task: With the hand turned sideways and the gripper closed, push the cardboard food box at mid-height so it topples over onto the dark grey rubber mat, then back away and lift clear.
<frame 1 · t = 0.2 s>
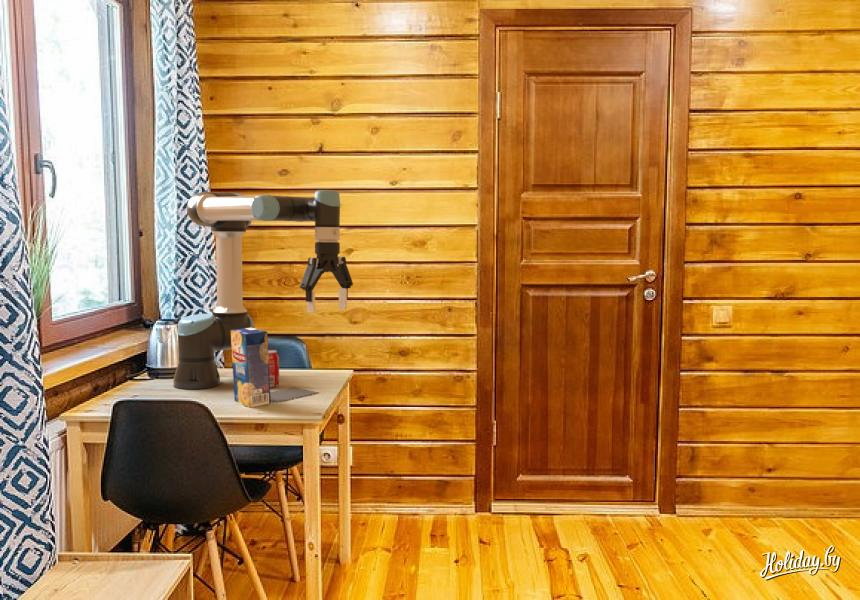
hand: (327, 310, 229), 28 cm above the table, tool pointing down, fingers open, 13 cm apart
soda can: (268, 387, 250), on the table
cardboard food box: (252, 402, 227), on the table, touching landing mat
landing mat: (285, 395, 238), on the table
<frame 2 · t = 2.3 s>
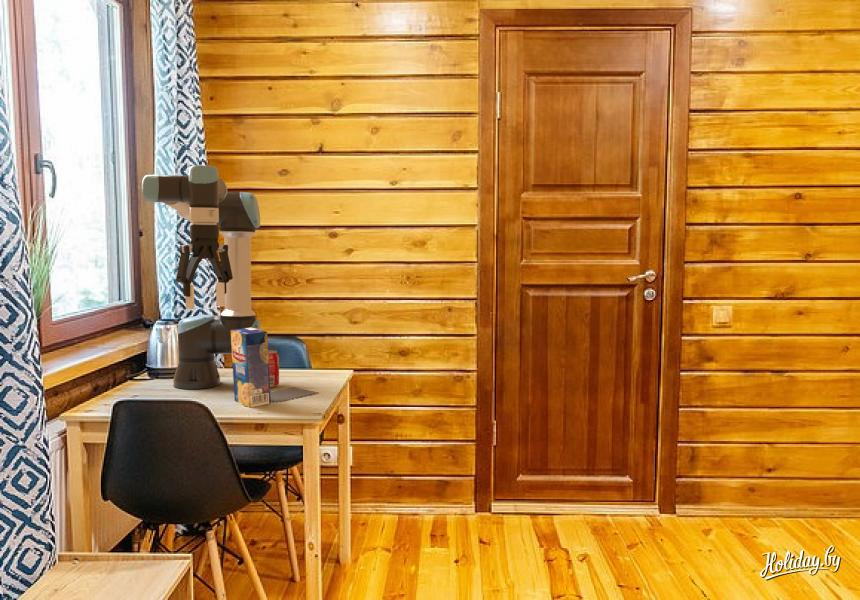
hand: (205, 307, 202), 31 cm above the table, tool pointing down, fingers open, 9 cm apart
nothing on the table moved.
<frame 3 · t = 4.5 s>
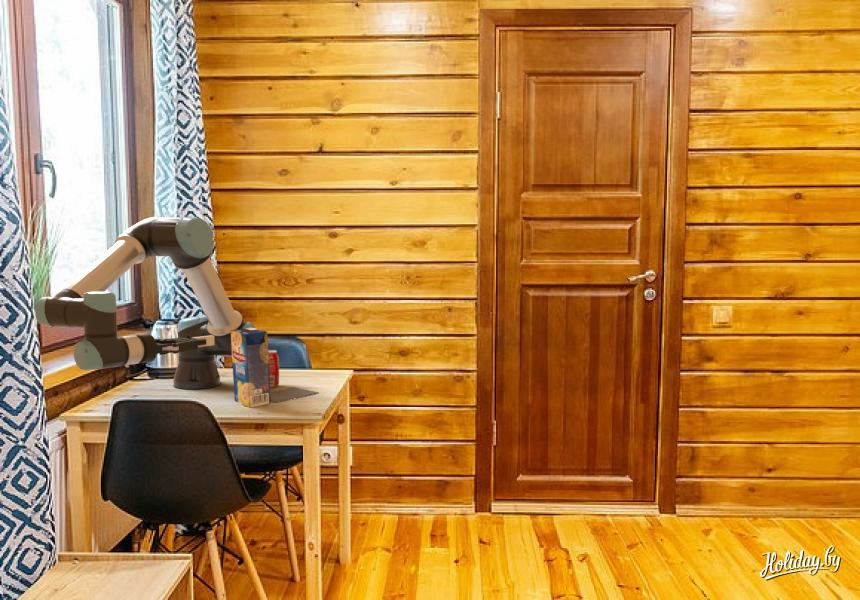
hand: (212, 340, 214), 21 cm above the table, tool horizontal, fingers closed
nothing on the table moved.
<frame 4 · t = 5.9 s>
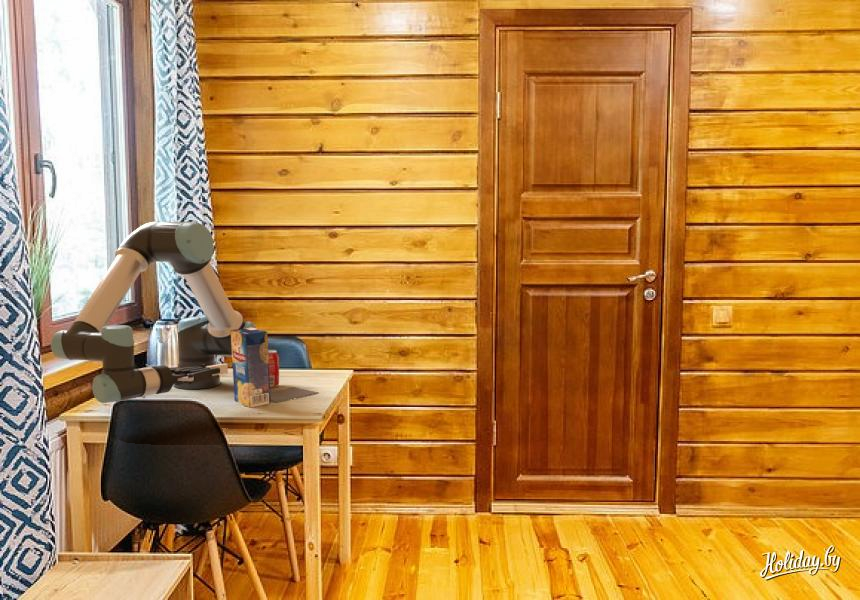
hand: (226, 368, 218), 12 cm above the table, tool horizontal, fingers closed
nothing on the table moved.
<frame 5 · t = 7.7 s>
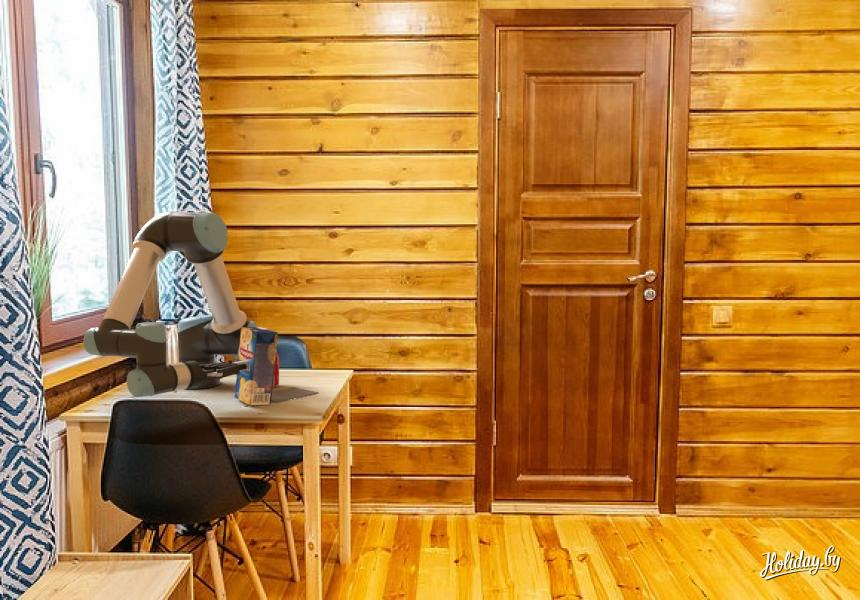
hand: (252, 364, 225), 12 cm above the table, tool horizontal, fingers closed
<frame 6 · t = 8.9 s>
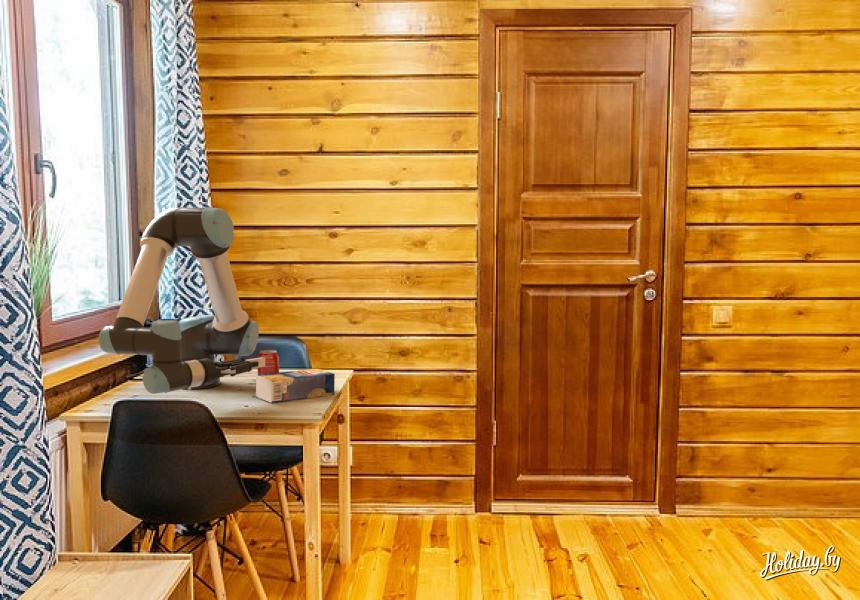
hand: (263, 361, 229), 12 cm above the table, tool horizontal, fingers closed
cardboard food box: (263, 388, 229), point 4 cm above the table, touching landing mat
everything else where it was.
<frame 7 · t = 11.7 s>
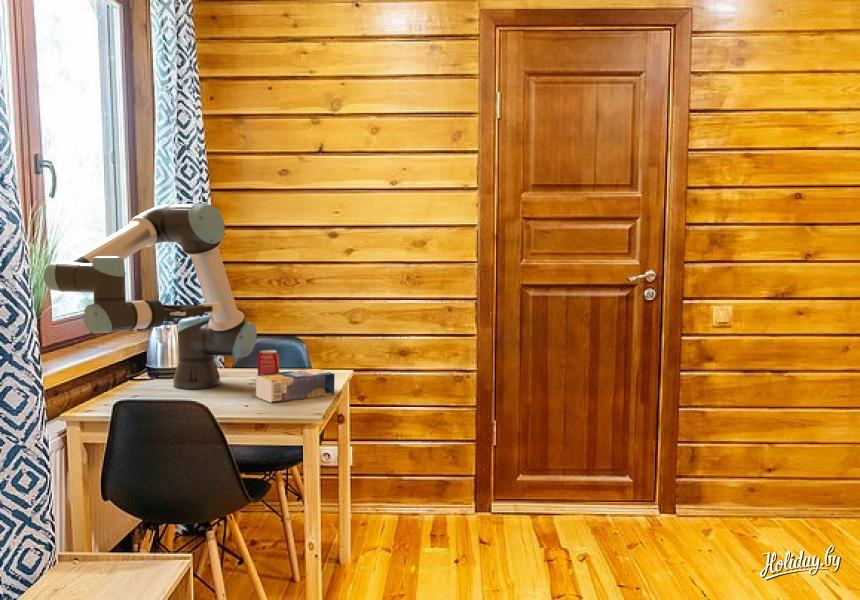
hand: (218, 307, 217), 30 cm above the table, tool horizontal, fingers closed
nothing on the table moved.
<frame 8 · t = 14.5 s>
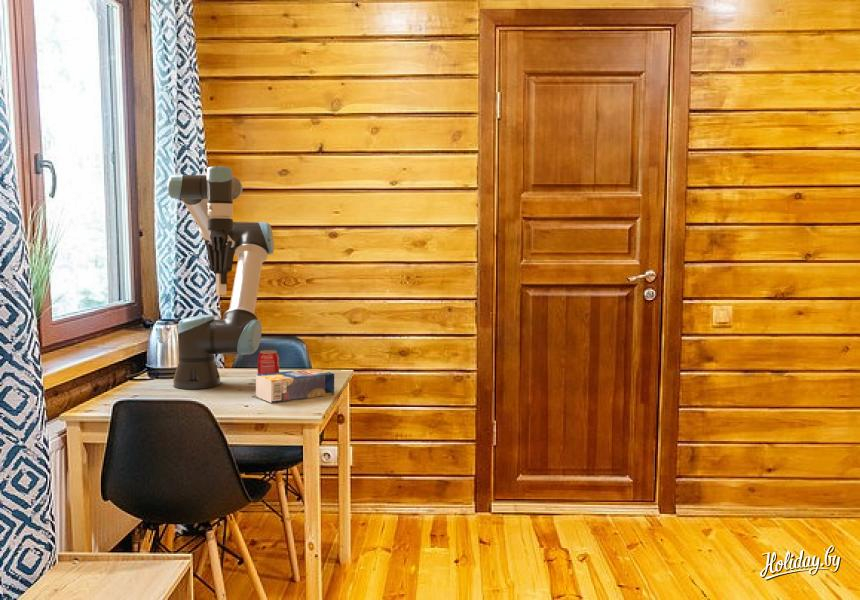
hand: (221, 294, 230), 32 cm above the table, tool pointing down, fingers closed
nothing on the table moved.
at the end: cardboard food box tilted 91°; cardboard food box inside the target area (0.6 cm from its centre), point 3.7 cm above the table; cardboard food box touching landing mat, table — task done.
